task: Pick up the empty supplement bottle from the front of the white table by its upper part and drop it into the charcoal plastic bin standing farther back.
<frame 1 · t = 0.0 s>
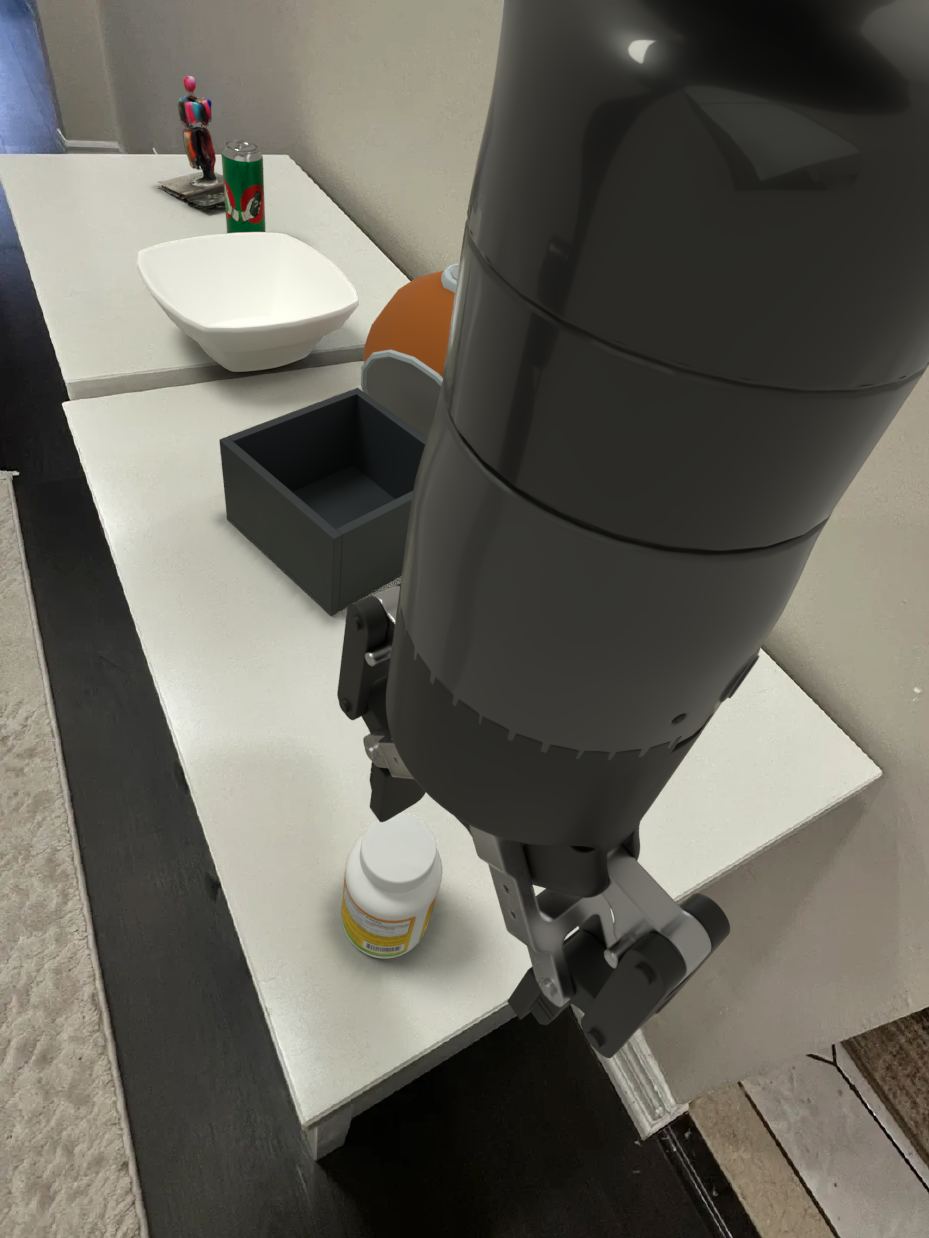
hand: (461, 893, 28), 20 cm above the table, tool pointing down, fingers open, 8 cm apart
bin: (343, 532, 70), on the table
soda can: (247, 245, 105), on the table
statue: (208, 197, 113), on the table
bowl: (252, 351, 87), on the table
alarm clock: (448, 436, 82), on the table
supplement bottle: (384, 916, 47), on the table
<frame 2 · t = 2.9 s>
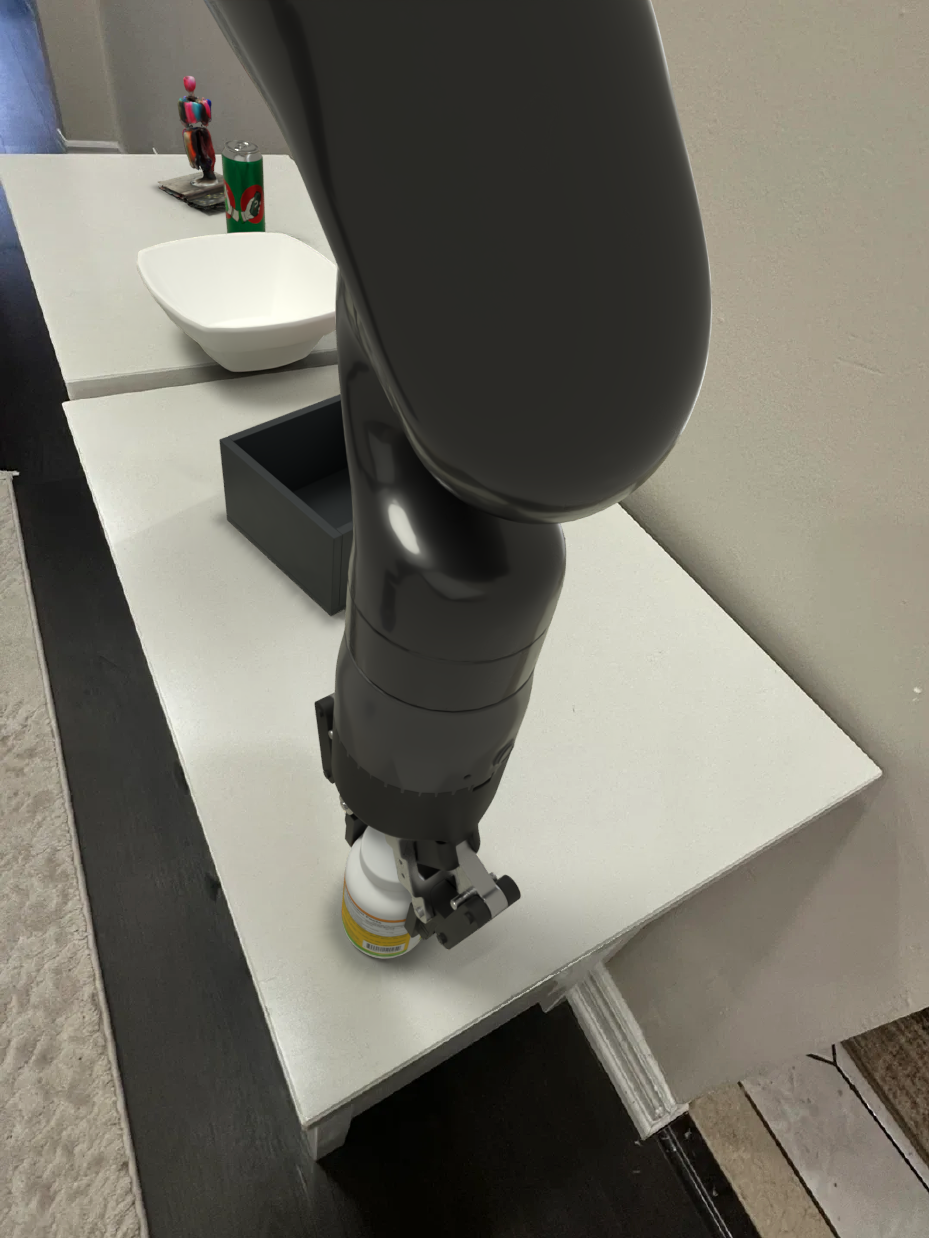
hand: (393, 878, 43), 5 cm above the table, tool pointing down, fingers closed on supplement bottle, 5 cm apart
supplement bottle: (384, 916, 47), on the table, touching gripper
everything else where it was.
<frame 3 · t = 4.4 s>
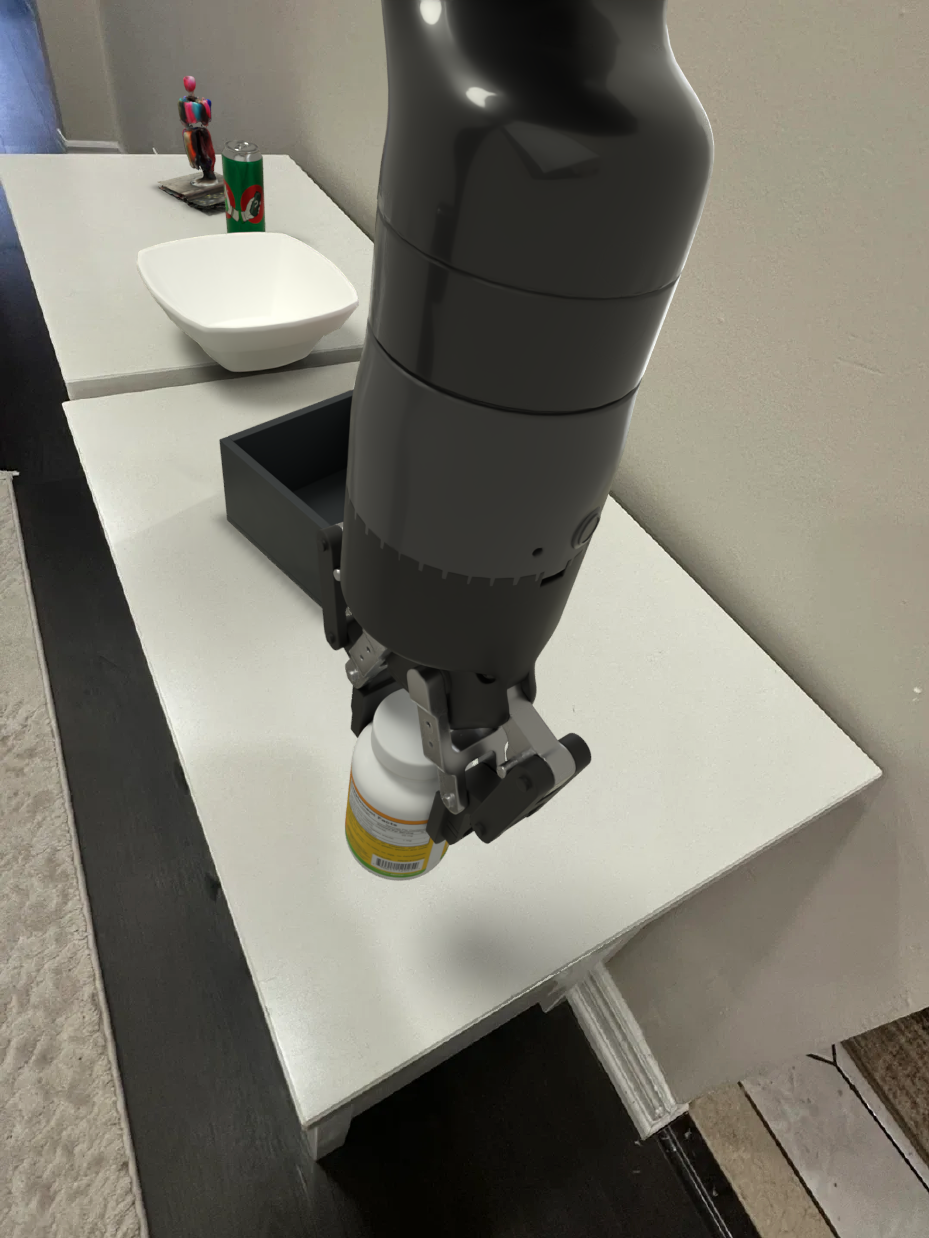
hand: (410, 776, 35), 17 cm above the table, tool pointing down, fingers closed on supplement bottle, 5 cm apart
supplement bottle: (397, 833, 39), point 11 cm above the table, touching gripper
everything else where it was.
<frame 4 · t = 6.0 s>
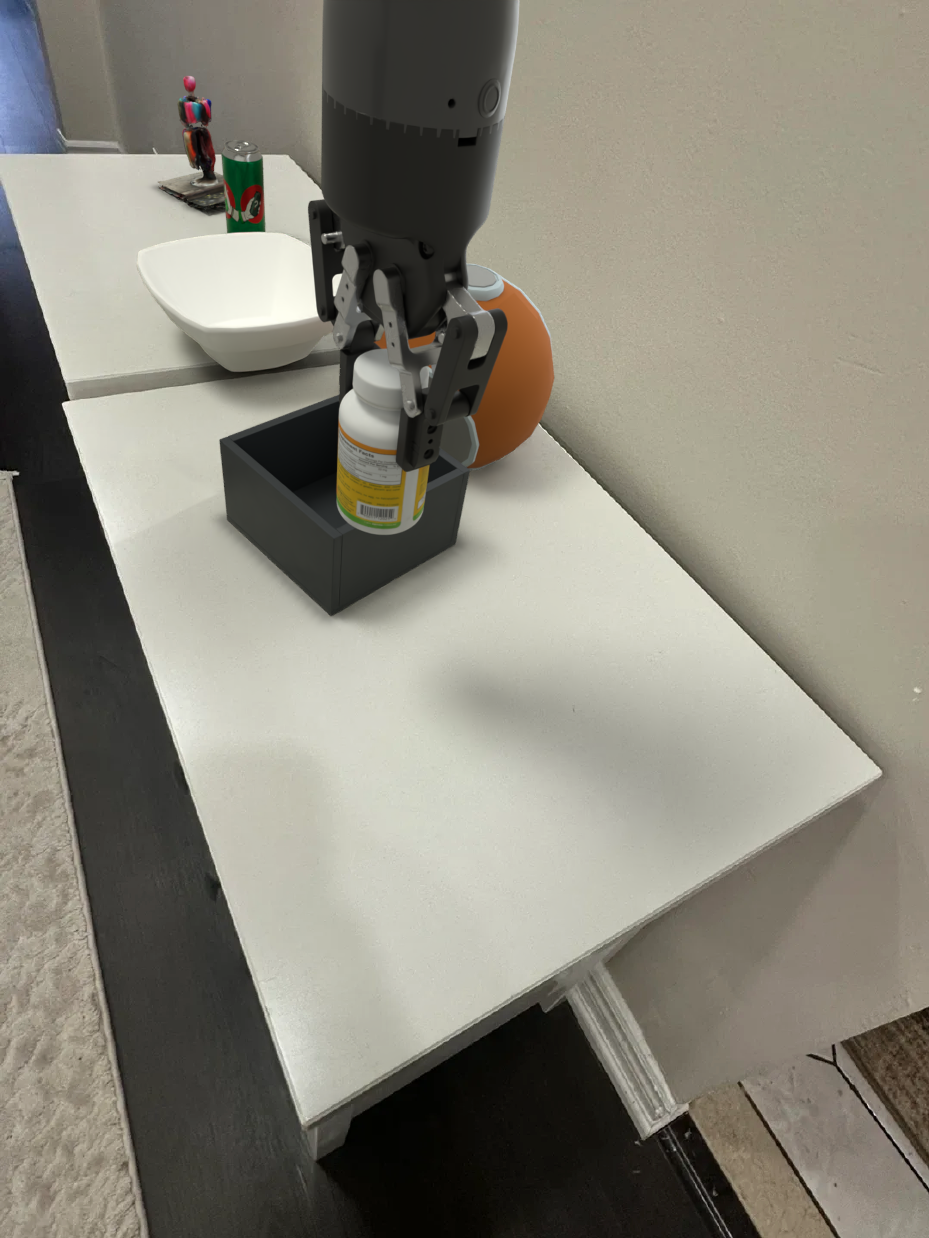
hand: (385, 434, 44), 22 cm above the table, tool pointing down, fingers closed on supplement bottle, 5 cm apart
supplement bottle: (379, 510, 48), point 16 cm above the table, touching gripper
everything else where it was.
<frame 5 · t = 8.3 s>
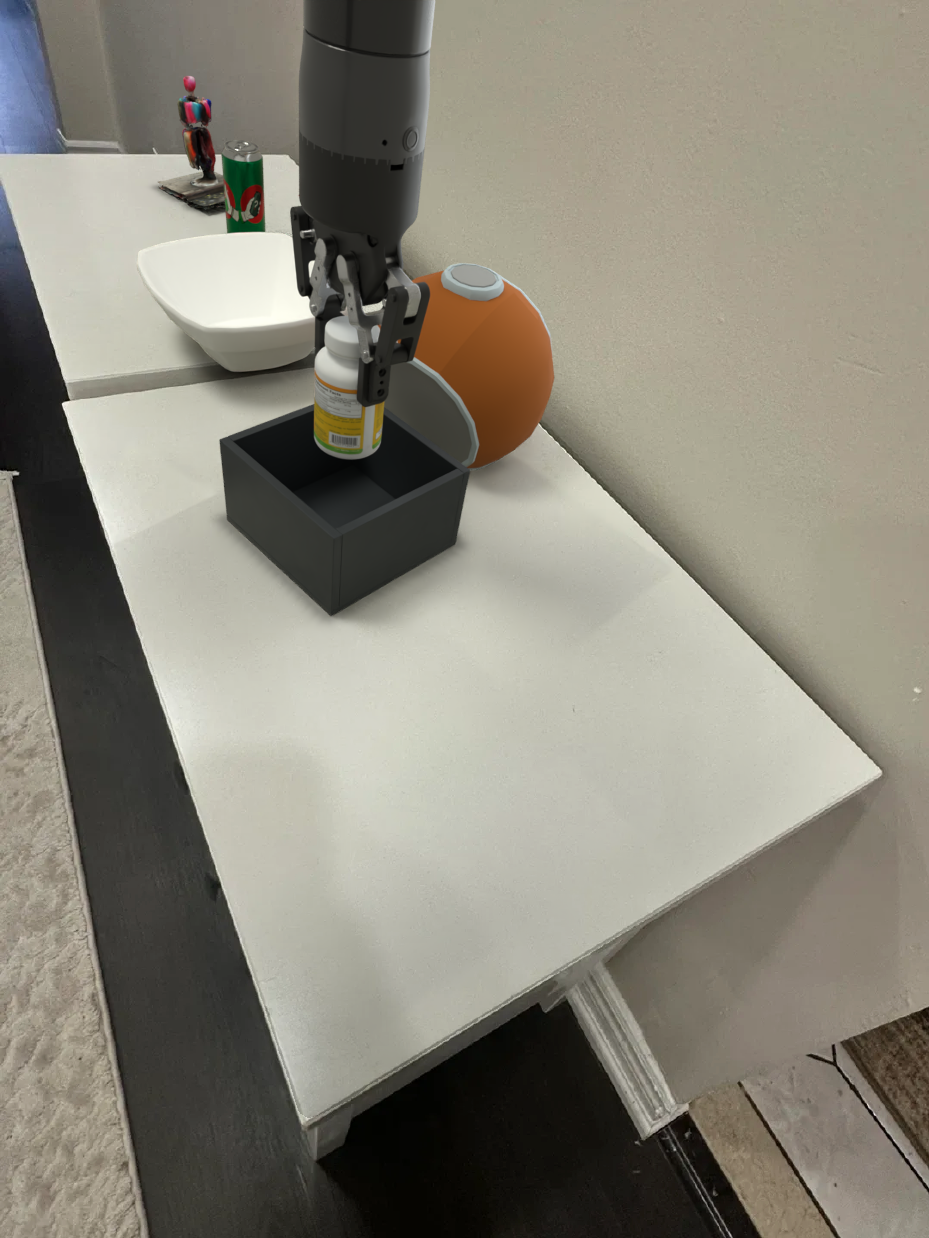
hand: (350, 381, 58), 15 cm above the table, tool pointing down, fingers closed on supplement bottle, 5 cm apart
supplement bottle: (347, 443, 62), point 10 cm above the table, touching gripper
everything else where it was.
when the fingers open (13 cm above the table, at t = 9.4 s): supplement bottle drops 7 cm, resting on bin.
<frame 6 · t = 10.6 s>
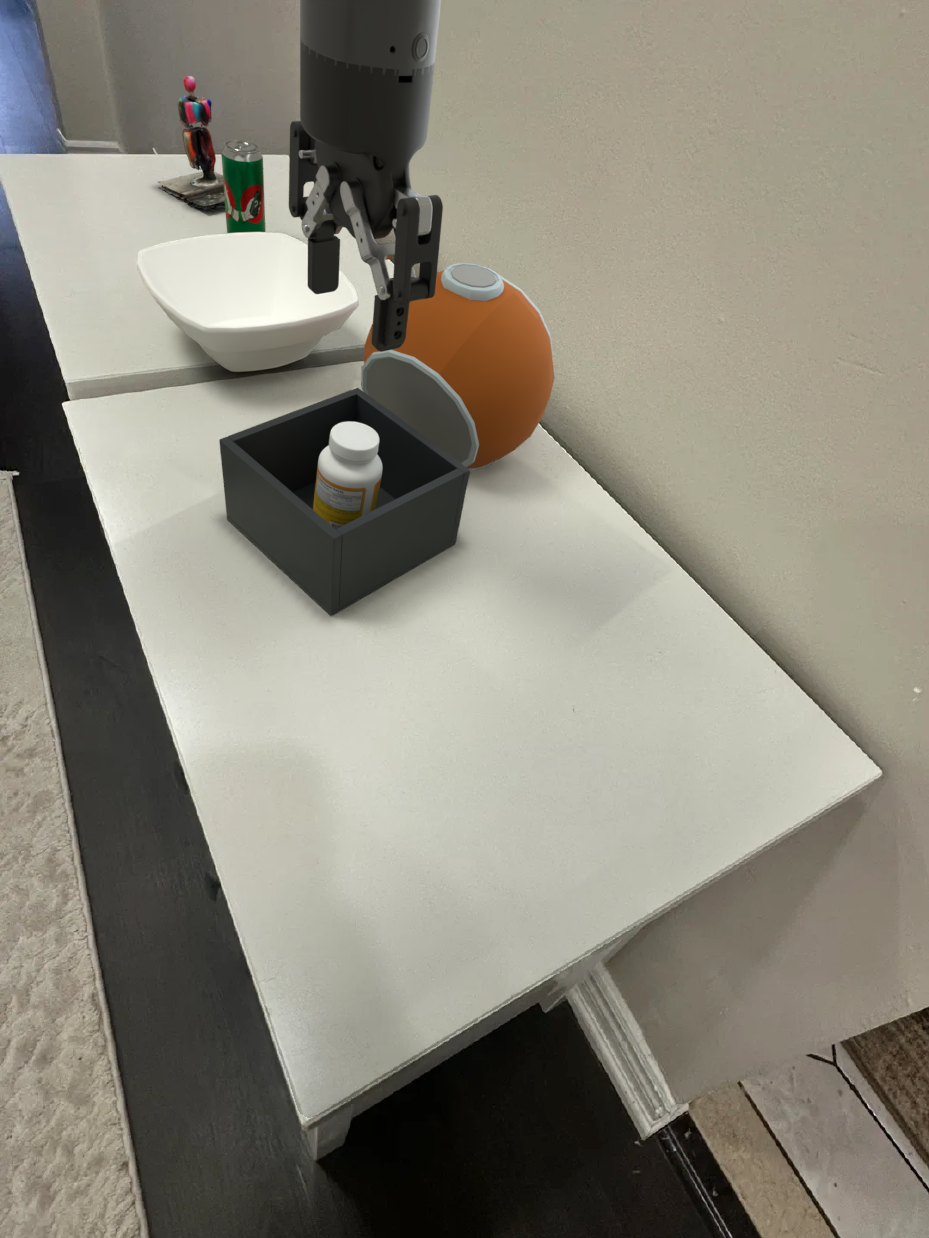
hand: (354, 318, 55), 20 cm above the table, tool pointing down, fingers open, 8 cm apart
supplement bottle: (341, 527, 69), point 1 cm above the table, touching bin
everything else where it was.
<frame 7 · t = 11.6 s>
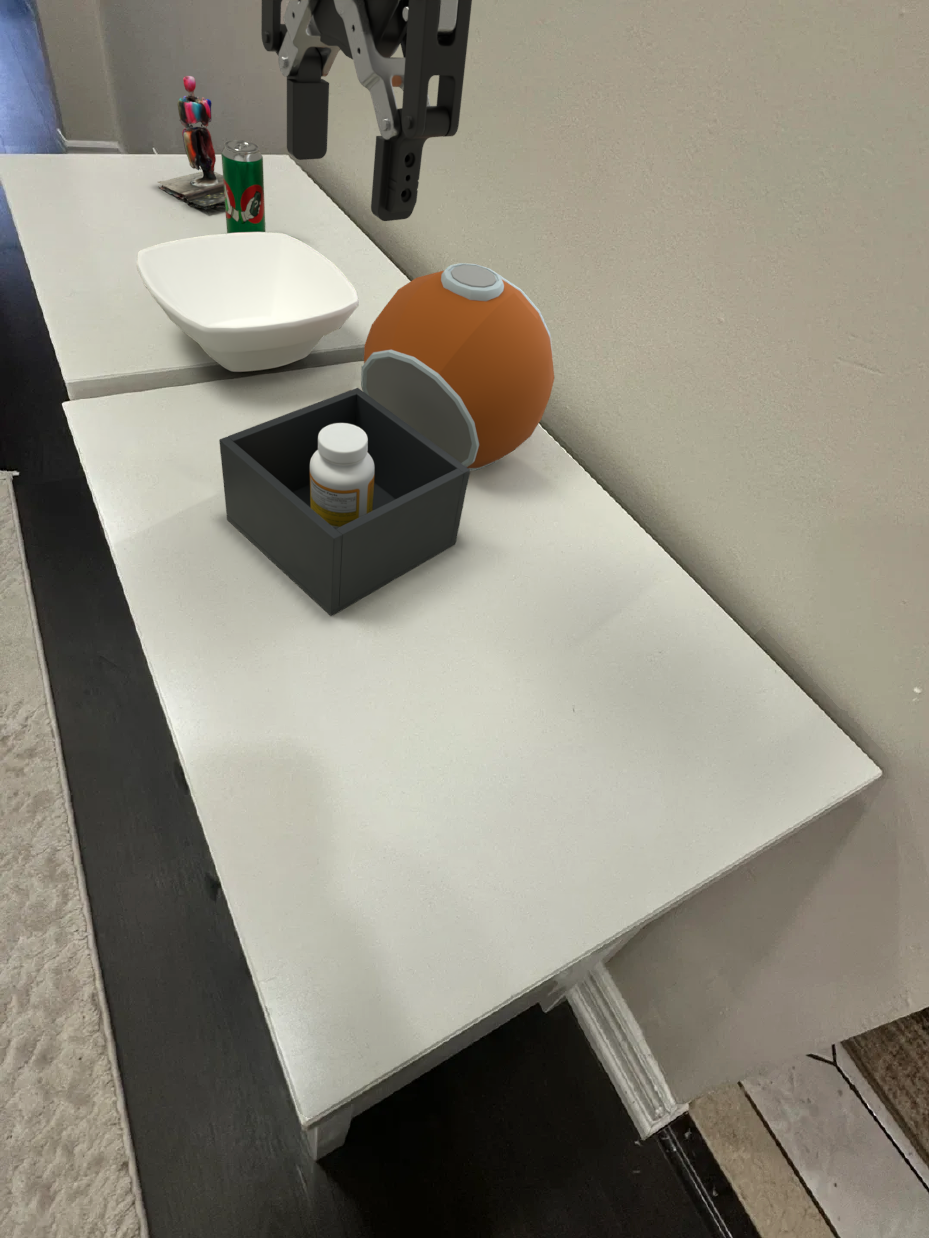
hand: (347, 186, 42), 31 cm above the table, tool pointing down, fingers open, 8 cm apart
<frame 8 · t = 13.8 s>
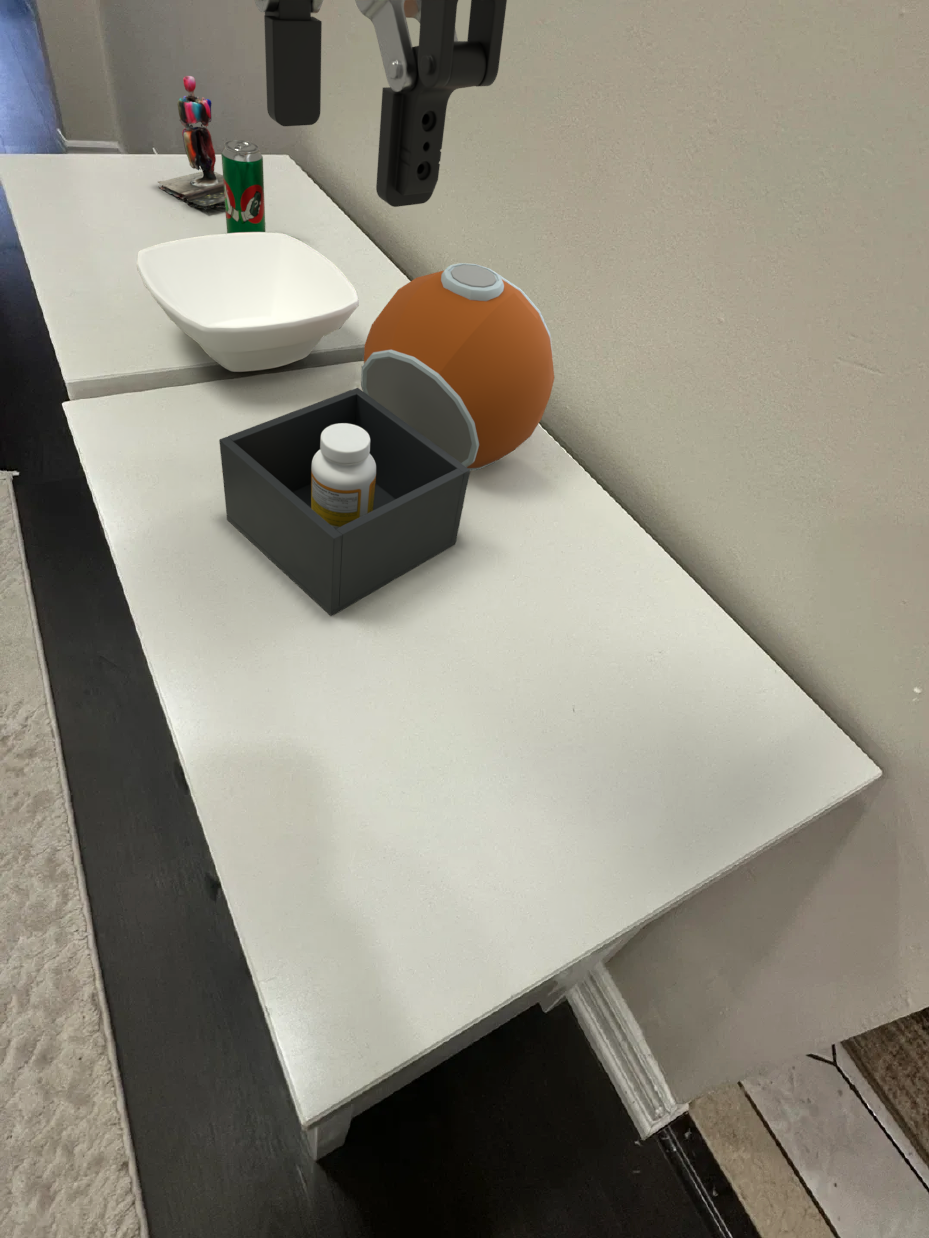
hand: (346, 160, 32), 36 cm above the table, tool pointing down, fingers open, 8 cm apart
nothing on the table moved.
at the end: supplement bottle inside the target area in the bin (0.1 cm from its centre), point 0.4 cm above the bin's base; the gripper is holding nothing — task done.
